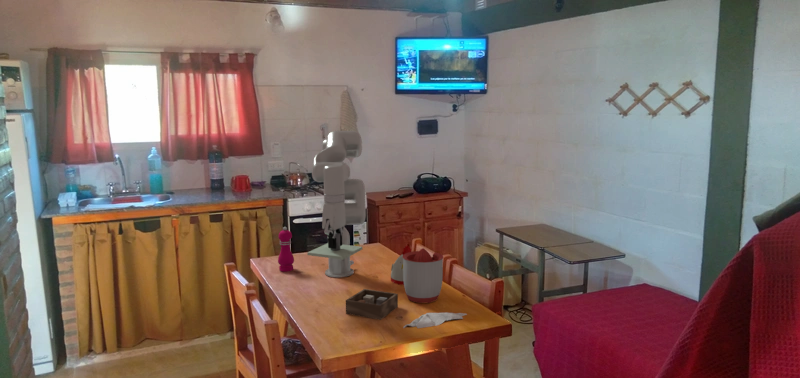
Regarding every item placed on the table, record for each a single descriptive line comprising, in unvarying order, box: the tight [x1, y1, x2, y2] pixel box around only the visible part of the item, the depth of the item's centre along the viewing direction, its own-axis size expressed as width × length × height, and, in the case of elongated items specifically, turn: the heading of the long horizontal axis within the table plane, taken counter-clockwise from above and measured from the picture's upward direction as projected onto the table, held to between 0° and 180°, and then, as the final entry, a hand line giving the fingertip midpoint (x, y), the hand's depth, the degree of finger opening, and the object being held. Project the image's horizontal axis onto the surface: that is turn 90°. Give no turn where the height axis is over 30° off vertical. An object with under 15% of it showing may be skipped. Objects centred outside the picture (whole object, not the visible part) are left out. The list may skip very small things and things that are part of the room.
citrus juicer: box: [403, 247, 444, 304], centre depth 215 cm, size 16×17×20 cm
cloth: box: [403, 312, 468, 329], centre depth 194 cm, size 26×14×2 cm, turn 106°
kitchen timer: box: [390, 245, 412, 286], centre depth 238 cm, size 14×14×15 cm
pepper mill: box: [277, 226, 295, 273], centre depth 252 cm, size 7×7×20 cm
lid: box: [306, 233, 364, 260], centre depth 208 cm, size 15×15×7 cm
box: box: [345, 288, 399, 321], centre depth 203 cm, size 14×14×5 cm
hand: (335, 246), depth 208 cm, fingers closed on lid, 3 cm apart
